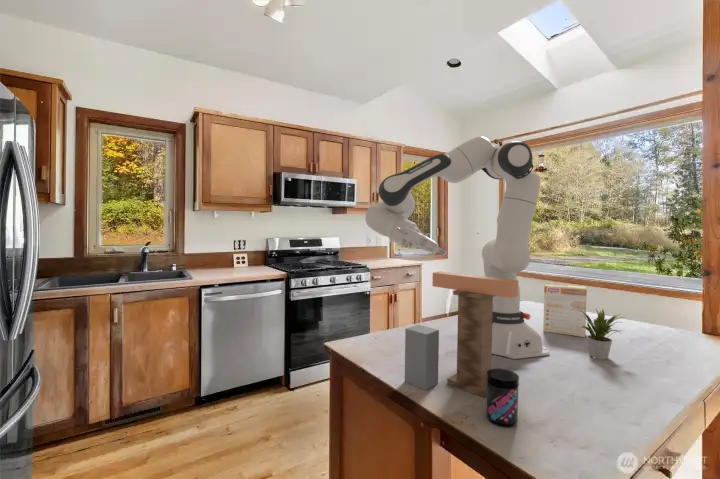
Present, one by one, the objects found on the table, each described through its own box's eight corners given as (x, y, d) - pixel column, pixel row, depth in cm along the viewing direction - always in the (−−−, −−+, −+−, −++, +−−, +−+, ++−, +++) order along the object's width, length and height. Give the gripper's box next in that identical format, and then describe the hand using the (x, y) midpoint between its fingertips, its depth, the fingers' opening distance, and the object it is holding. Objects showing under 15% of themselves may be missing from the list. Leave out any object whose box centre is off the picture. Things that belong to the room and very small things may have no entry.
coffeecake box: (585, 333, 145) (586, 286, 144) (585, 337, 139) (587, 288, 138) (544, 327, 153) (545, 282, 153) (542, 331, 147) (544, 285, 147)
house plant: (637, 368, 110) (640, 316, 109) (588, 364, 112) (590, 313, 112) (614, 352, 124) (616, 306, 123) (571, 349, 126) (572, 303, 126)
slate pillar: (404, 381, 99) (405, 328, 98) (417, 375, 103) (418, 324, 102) (425, 390, 94) (426, 334, 93) (438, 383, 98) (438, 329, 97)
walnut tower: (447, 383, 98) (448, 290, 97) (463, 374, 104) (465, 286, 103) (485, 397, 90) (487, 296, 89) (500, 386, 96) (502, 292, 95)
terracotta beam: (432, 286, 103) (432, 272, 103) (439, 284, 106) (440, 271, 106) (511, 298, 87) (512, 282, 87) (518, 295, 90) (518, 280, 90)
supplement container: (479, 418, 80) (480, 373, 80) (494, 408, 84) (495, 366, 84) (509, 432, 75) (510, 384, 74) (523, 420, 79) (524, 375, 79)
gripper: (399, 218, 109) (437, 237, 103) (419, 230, 127) (453, 247, 121) (389, 236, 110) (427, 256, 103) (411, 245, 128) (444, 263, 121)
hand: (441, 251), depth 112 cm, fingers open, 8 cm apart
